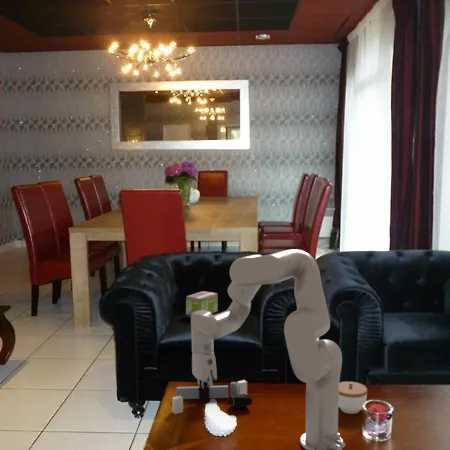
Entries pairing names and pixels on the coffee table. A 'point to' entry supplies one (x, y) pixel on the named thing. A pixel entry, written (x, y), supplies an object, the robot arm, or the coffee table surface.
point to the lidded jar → (351, 397)
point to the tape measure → (240, 400)
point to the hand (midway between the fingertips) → (204, 398)
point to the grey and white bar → (234, 389)
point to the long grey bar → (194, 392)
